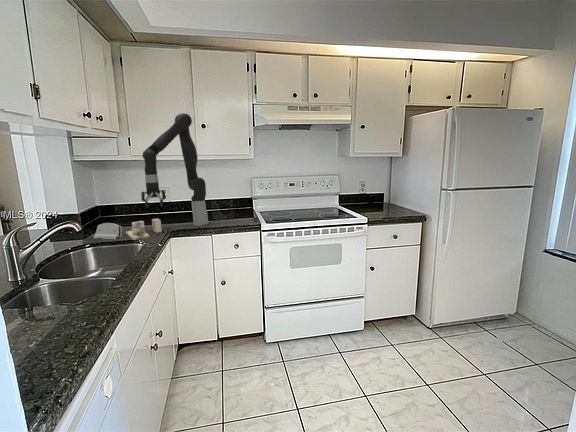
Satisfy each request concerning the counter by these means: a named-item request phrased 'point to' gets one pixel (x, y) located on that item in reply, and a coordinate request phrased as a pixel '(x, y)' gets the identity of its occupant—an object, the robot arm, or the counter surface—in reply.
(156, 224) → the cream upright block
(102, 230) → the grey rounded block
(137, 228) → the beige hat shape
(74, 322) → the counter surface
